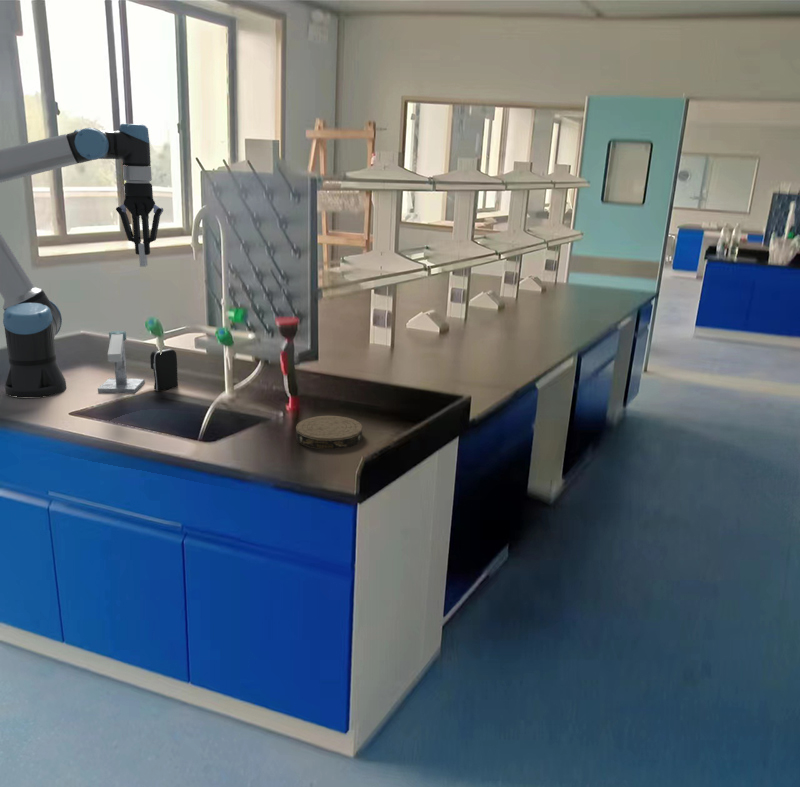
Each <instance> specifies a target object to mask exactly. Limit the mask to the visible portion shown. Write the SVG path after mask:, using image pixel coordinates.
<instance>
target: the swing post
mask: <svg viewBox="0 0 800 787" xmlns="http://www.w3.org/2000/svg"><path fill="white" fill-rule="evenodd" d="M125 349H126V348H125V341H124V342H123V350H122V359H121V362H113V363H114V365H113V366H114V376H115V378H113V377H112V378H108V379H107V380H106V381H104V382H103V383H102V384H101V385H100V386H99V387H97V393H100V394H104V393H105V394H136V393H137V392H138V391H139V390H140V389H141V387H142V386H143V385H144V384H145V382H146V381H145V378H127V377H128V376H127V375H128V374H127V365H126V364H127V363H126V351H125Z"/></svg>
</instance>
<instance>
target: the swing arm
mask: <svg viewBox="0 0 800 787" xmlns="http://www.w3.org/2000/svg"><path fill="white" fill-rule="evenodd" d="M108 337H109V345H108V349H107V350H108V351H107V362H108V363H114V362H121V359H122V350H123V342H124V343H125V341H127V332H126V331H123V330H114V331H110V332H109V333H108Z"/></svg>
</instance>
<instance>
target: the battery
mask: <svg viewBox="0 0 800 787" xmlns="http://www.w3.org/2000/svg"><path fill="white" fill-rule="evenodd" d="M162 349H163V350H162V354H161V355H160V352H159V350H160V349H156V350H153V351H152V352H151V353H150V356H149V357H150V360H149V362H150V369H151V370H153V376H154V385H153V386H154V387H153V389H154V390H155V391H156V392H163V391H167V390H170V389H174V388H177V387H179V381H178V380H179V379H178V357H177V356H178V355H177V352H176V351H175V350H174V349H172V348H162Z"/></svg>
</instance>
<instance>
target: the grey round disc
mask: <svg viewBox="0 0 800 787" xmlns="http://www.w3.org/2000/svg"><path fill="white" fill-rule="evenodd" d="M362 437H363V425H362V424H361V422H359V421H358V420H356V419H353V418H350V417H347V416H342V415H341V416H339V415H319V416H318V415H317V416H312V417H307V418H305V419H301V421H299V422H298V423H297V424H296V426H295V438H296V441H297V442H298V443H299V444H301V445H303V446H306V447H308V448H312V449H318V450H341V449H345V448H346V449H347V448H350V447H352V446H355V445H358V444H359V443H360V442H361V441H362Z"/></svg>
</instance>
